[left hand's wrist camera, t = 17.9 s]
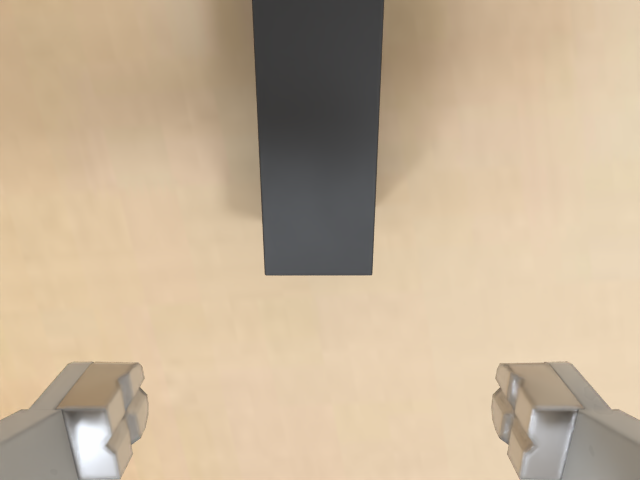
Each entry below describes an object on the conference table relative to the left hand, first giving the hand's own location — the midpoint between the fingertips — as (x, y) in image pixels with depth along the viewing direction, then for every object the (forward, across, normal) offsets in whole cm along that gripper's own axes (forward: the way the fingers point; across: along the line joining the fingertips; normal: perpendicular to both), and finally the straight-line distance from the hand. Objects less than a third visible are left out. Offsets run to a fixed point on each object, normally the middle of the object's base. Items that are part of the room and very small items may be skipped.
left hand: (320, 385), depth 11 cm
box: (+22, 0, -8) cm, 24 cm away
